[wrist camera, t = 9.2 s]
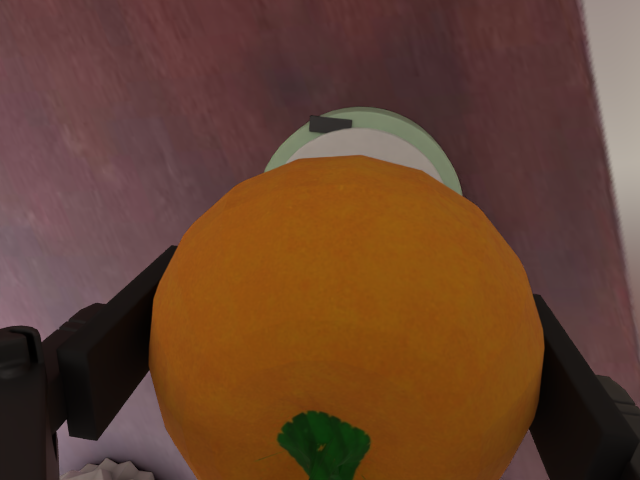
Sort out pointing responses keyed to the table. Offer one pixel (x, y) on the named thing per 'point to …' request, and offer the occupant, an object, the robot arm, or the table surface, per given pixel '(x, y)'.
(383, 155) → the scale
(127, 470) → the vase
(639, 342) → the table surface
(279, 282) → the fruit
